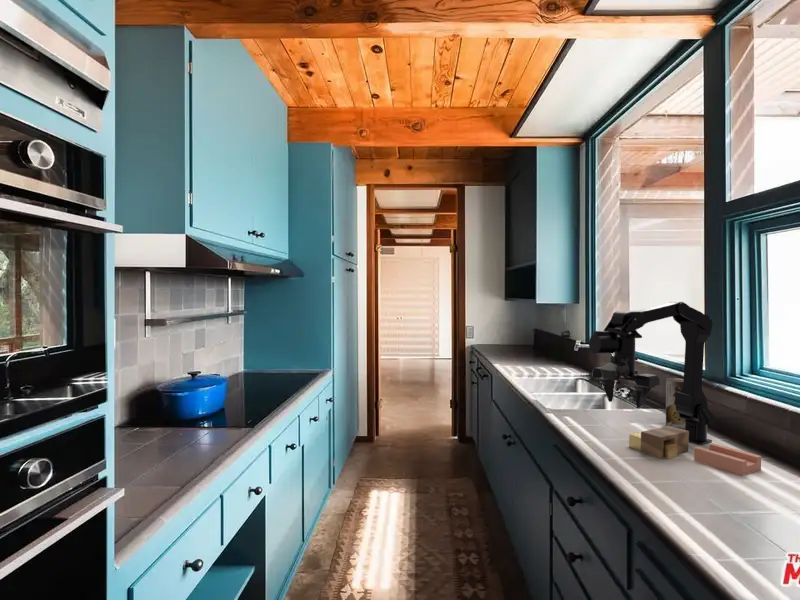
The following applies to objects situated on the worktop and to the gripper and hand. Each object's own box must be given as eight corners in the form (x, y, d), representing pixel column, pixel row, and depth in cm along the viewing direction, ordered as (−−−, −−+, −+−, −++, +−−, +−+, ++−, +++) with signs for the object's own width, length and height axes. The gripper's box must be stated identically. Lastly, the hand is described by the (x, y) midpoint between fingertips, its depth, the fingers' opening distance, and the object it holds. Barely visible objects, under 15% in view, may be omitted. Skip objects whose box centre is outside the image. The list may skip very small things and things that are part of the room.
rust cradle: (712, 455, 135) (713, 443, 135) (761, 469, 125) (761, 456, 125) (694, 460, 131) (694, 447, 131) (742, 475, 120) (742, 461, 120)
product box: (696, 425, 165) (697, 379, 165) (695, 430, 160) (696, 382, 159) (666, 421, 170) (667, 376, 170) (664, 426, 165) (665, 379, 164)
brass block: (629, 447, 142) (629, 434, 142) (637, 445, 144) (637, 432, 144) (668, 460, 132) (668, 445, 132) (676, 457, 134) (677, 443, 134)
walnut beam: (668, 445, 144) (668, 425, 143) (688, 451, 138) (688, 431, 138) (640, 452, 137) (641, 431, 137) (660, 458, 132) (661, 437, 132)
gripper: (580, 351, 146) (580, 401, 147) (637, 359, 130) (636, 415, 131) (603, 349, 152) (603, 397, 153) (661, 356, 136) (660, 410, 136)
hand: (624, 404), depth 143 cm, fingers open, 9 cm apart
